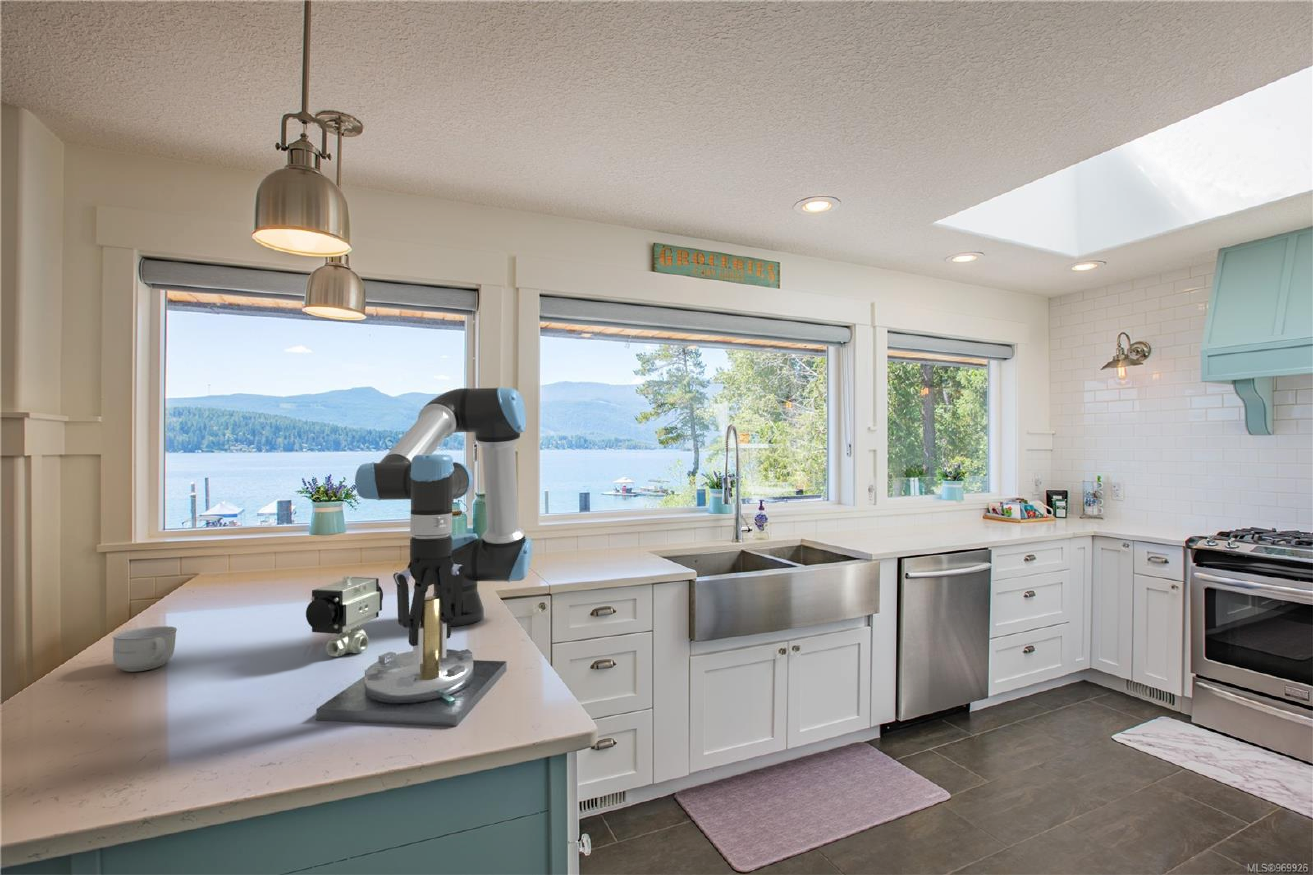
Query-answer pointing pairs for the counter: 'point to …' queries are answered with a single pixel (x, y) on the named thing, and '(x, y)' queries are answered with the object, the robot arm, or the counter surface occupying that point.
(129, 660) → the teacup
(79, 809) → the counter surface
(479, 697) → the base plate
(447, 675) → the silver tabbed disc
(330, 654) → the ball valve
